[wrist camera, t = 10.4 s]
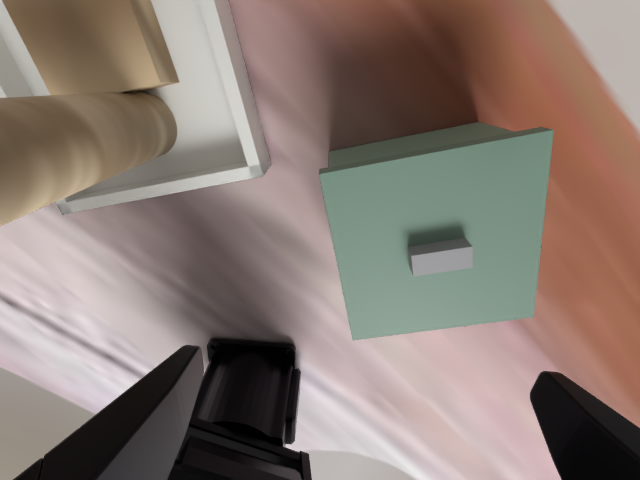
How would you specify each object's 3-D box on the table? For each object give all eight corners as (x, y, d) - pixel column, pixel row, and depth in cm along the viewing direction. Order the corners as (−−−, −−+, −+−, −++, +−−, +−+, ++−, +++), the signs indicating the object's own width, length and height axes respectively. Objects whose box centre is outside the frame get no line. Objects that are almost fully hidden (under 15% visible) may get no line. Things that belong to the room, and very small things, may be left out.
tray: (271, 164, 18) (263, 176, 16) (93, 199, 20) (62, 214, 17) (184, -167, 13) (152, -219, 10) (-58, -87, 14) (-133, -120, 12)
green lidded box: (347, 277, 22) (353, 352, 16) (322, 147, 18) (318, 180, 12) (482, 257, 21) (543, 328, 15) (485, 114, 17) (568, 133, 11)
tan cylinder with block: (203, 148, 17) (-49, 280, 6) (117, 166, 18) (-263, 319, 6) (133, -48, 14) (-844, -682, 2) (29, -17, 14) (-1157, -399, 3)
